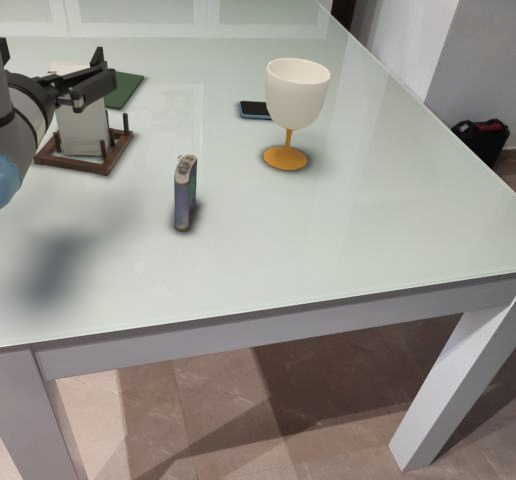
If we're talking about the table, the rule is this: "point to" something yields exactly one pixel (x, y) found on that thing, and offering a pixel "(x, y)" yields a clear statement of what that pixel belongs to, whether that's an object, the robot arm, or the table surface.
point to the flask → (185, 191)
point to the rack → (102, 169)
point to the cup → (293, 103)
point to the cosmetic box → (80, 119)
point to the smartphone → (254, 109)
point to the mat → (122, 90)
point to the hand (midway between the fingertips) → (53, 52)
